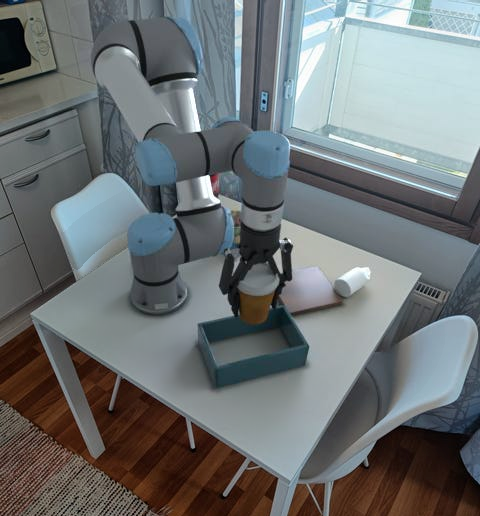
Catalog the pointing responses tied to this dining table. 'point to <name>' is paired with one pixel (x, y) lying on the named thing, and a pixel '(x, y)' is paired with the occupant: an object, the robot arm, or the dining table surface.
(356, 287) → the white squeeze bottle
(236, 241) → the mug
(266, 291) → the disposable coffee cup
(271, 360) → the teal open box
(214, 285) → the dining table surface
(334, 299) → the board
